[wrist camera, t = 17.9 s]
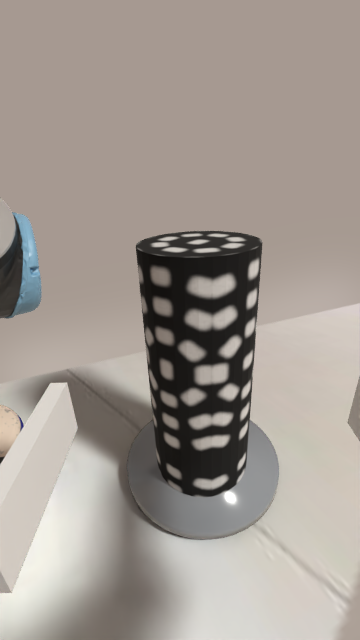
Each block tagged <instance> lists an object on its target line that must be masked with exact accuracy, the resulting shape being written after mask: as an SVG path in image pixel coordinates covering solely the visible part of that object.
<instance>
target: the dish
mask: <svg viewBox="0 0 360 640" xmlns="http://www.w3.org/2000/svg"><path fill="white" fill-rule="evenodd" d="M127 471H128V479H129V485H130V488H131V492H132V494H133V497H134V499H135V501H136V503H137V504H138V506H139V507H140V509H141V510H142V511H143V512H144V513H145V515H146V516H147V517H148V518H150V519H151V520H152V521H153V522H154V523H155V524H157V525H159V526H160V527H162V528H163V529H165V530H167V531H169V532H172V533H174V534H176V535H180V536H183V537H187V538H193V539H218V538H224V537H228V536H231V535H235V534H237V533H239V532H241V531H243V530H245V529H247V528H248V527H250V526H252V525H253V524H254V523H256V522H257V521H258V520H259V519H260V518H261V517H262V516H263V515H264V514H265V512H266V511H267V510H268V509H269V507H270V505H271V503H272V501H273V499H274V496H275V494H276V490H277V485H278V478H279V464H278V458H277V455H276V452H275V449H274V447H273V445H272V443H271V441H270V440H269V438H268V437H267V436H266V434H265V433H264V432H263V431H262V430H261V429H260V428H259V427H258V426H257V425H256V424H255V423H253V422H252V421H251V420H250V421H249V435H248V449H247V463H246V468H245V472H244V474H243V476H242V478H241V480H240V481H239V482H238V483H237V484H236V485H235V486H234V487H233V488H231V489H230V490H229V491H227V492H225V493H222V494H220V495H216V496H212V497H195V496H190V495H187V494H183V493H181V492H179V491H177V490H176V489H174V488H173V487H172V486H170V485H169V484H168V483H167V482H166V481H165V479H164V478H163V477H162V475H161V473H160V471H159V467H158V463H157V453H156V443H155V433H154V423H153V420H152V421H151V422H150V423H148V424H147V425H146V426H145V427H144V428H143V429H142V430H141V431H140V433H139V434H138V435H137V437H136V438H135V440H134V442H133V444H132V446H131V449H130V451H129V456H128V462H127Z"/></svg>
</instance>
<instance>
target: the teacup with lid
mask: <svg viewBox="0 0 360 640" xmlns="http://www.w3.org/2000/svg"><path fill="white" fill-rule="evenodd" d="M23 427H24V426H23V422H22V420H21V418H20V417H19V416H18V415H17V414H16V413H15V412H14V411H13V410H11V409H10V408H8V407H6V406H3V405H0V457H5V456H6V454H7V453H8V451H9V450H10V448H11V446H12V445H13V443H14V441H15V440H16V438H17V437H18V435H19V433H20V432H21V430H22V428H23Z"/></svg>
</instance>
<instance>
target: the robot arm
mask: <svg viewBox="0 0 360 640" xmlns="http://www.w3.org/2000/svg"><path fill="white" fill-rule="evenodd" d="M38 268H39V265H38V255H37V249H36V243H35V239H34V234H33V230H32V227H31V224H30V221H29V219H28V218H27V217H26V216H25V215H23V214H17V213H13V212H11V210H10V208H9V207H8V205H7V204H6V203H5V202H4V201H3V199H1V198H0V318H12V317H14V316H15V315H18V314H23V313H27V312H31V311H33V310H35V309H36V308H37V307H38V306H39V304H40V301H41V279H40V272H39V270H38ZM348 424H349V425H350V427H351V429H352V430H353V432H354V433H355V435H356V436H357V438H358V439H359V441H360V377H359V381H358V384H357V388H356V392H355V396H354V400H353V403H352V407H351V411H350V415H349V419H348ZM77 429H78V426H77V422H76V418H75V414H74V409H73V405H72V401H71V397H70V393H69V388H68V384H67V383H50V384H49V386H48V388H47V389H46V391H45V393H44V394H43V396H42V397H41V399H40V401H39V402H38V404H37V406H36V407H35V409H34V411H33V412H32V414H31V415H30V417H29V419H28V420H27V422H26V424H25V425H24V427H23V428H22V430H21V432H20V433H19V435H18V437H17V438H16V440H15V441H14V443H13V445H12V446H11V448H10V450H9V451H8V453H7V454H6V456H5V457H0V593H12V591H13V588H14V586H15V583H16V581H17V578H18V576H19V573H20V571H21V568H22V566H23V563H24V561H25V558H26V556H27V553H28V551H29V548H30V546H31V543H32V541H33V538H34V536H35V533H36V531H37V529H38V526H39V524H40V521H41V519H42V516H43V514H44V511H45V509H46V506H47V504H48V501H49V499H50V496H51V494H52V491H53V489H54V486H55V484H56V481H57V479H58V476H59V474H60V471H61V469H62V466H63V464H64V461H65V459H66V456H67V454H68V451H69V449H70V446H71V444H72V442H73V439H74V437H75V434H76V432H77Z"/></svg>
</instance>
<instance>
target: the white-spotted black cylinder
mask: <svg viewBox="0 0 360 640" xmlns="http://www.w3.org/2000/svg"><path fill="white" fill-rule="evenodd" d="M136 253H137V263H138V273H139V283H140V293H141V303H142V313H143V323H144V333H145V343H146V353H147V363H148V373H149V383H150V393H151V403H152V413H153V423H154V433H155V443H156V453H157V463H158V467H159V471H160V473H161V475H162V477H163V478H164V479H165V481H166V482H167V483H168V484H169V485H170V486H172V487H173V488H174V489H176V490H177V491H179V492H181V493H183V494H187V495H190V496H195V497H212V496H216V495H220V494H222V493H225V492H227V491H229V490H230V489H231V488H233V487H234V486H235V485H236V484H237V483H238V482H239V481H240V480H241V478H242V476H243V474H244V472H245V468H246V463H247V449H248V435H249V421H250V407H251V393H252V379H253V365H254V351H255V337H256V323H257V310H258V295H259V281H260V268H261V254H262V241H261V240H260V239H259V238H257V237H254V236H252V235H248V234H242V233H235V232H223V231H193V232H178V233H171V234H164V235H159V236H154V237H150V238H147V239H144V240H142V241H140V242H138V243H137V245H136Z"/></svg>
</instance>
